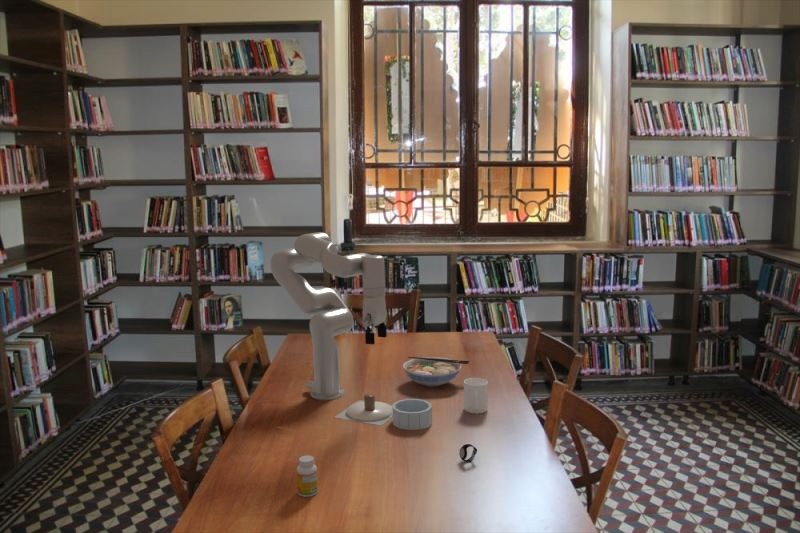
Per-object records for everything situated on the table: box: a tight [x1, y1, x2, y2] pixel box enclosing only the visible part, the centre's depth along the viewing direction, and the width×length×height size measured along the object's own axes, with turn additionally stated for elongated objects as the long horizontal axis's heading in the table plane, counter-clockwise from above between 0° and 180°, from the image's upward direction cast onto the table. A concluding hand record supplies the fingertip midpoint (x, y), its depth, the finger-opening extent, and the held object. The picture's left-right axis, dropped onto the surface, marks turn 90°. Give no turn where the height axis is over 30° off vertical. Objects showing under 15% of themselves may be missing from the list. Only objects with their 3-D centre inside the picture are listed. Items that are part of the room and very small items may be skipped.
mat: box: [333, 399, 392, 427], centre depth 244 cm, size 18×18×1 cm
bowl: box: [391, 398, 433, 431], centre depth 234 cm, size 13×13×6 cm
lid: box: [346, 393, 392, 421], centre depth 243 cm, size 16×16×6 cm
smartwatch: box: [459, 443, 478, 463], centre depth 205 cm, size 4×5×5 cm
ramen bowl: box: [402, 356, 470, 388], centre depth 273 cm, size 25×23×8 cm
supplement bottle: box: [296, 454, 319, 498], centre depth 188 cm, size 5×5×10 cm
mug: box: [463, 377, 489, 415], centre depth 243 cm, size 12×8×10 cm
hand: (376, 340), depth 242 cm, fingers open, 9 cm apart
